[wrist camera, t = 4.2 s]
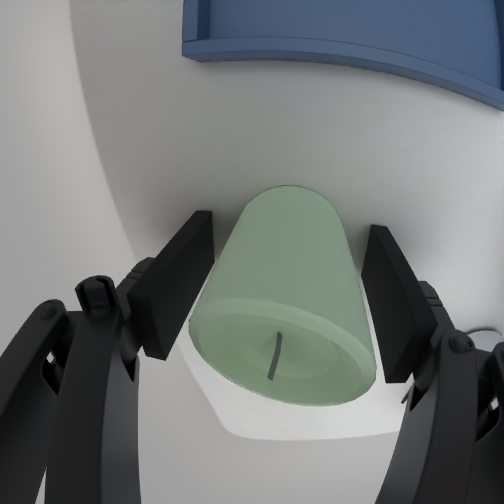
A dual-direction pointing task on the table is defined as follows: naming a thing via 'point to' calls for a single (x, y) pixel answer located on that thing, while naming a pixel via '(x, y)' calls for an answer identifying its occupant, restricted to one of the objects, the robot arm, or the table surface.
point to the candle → (287, 304)
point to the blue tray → (360, 37)
